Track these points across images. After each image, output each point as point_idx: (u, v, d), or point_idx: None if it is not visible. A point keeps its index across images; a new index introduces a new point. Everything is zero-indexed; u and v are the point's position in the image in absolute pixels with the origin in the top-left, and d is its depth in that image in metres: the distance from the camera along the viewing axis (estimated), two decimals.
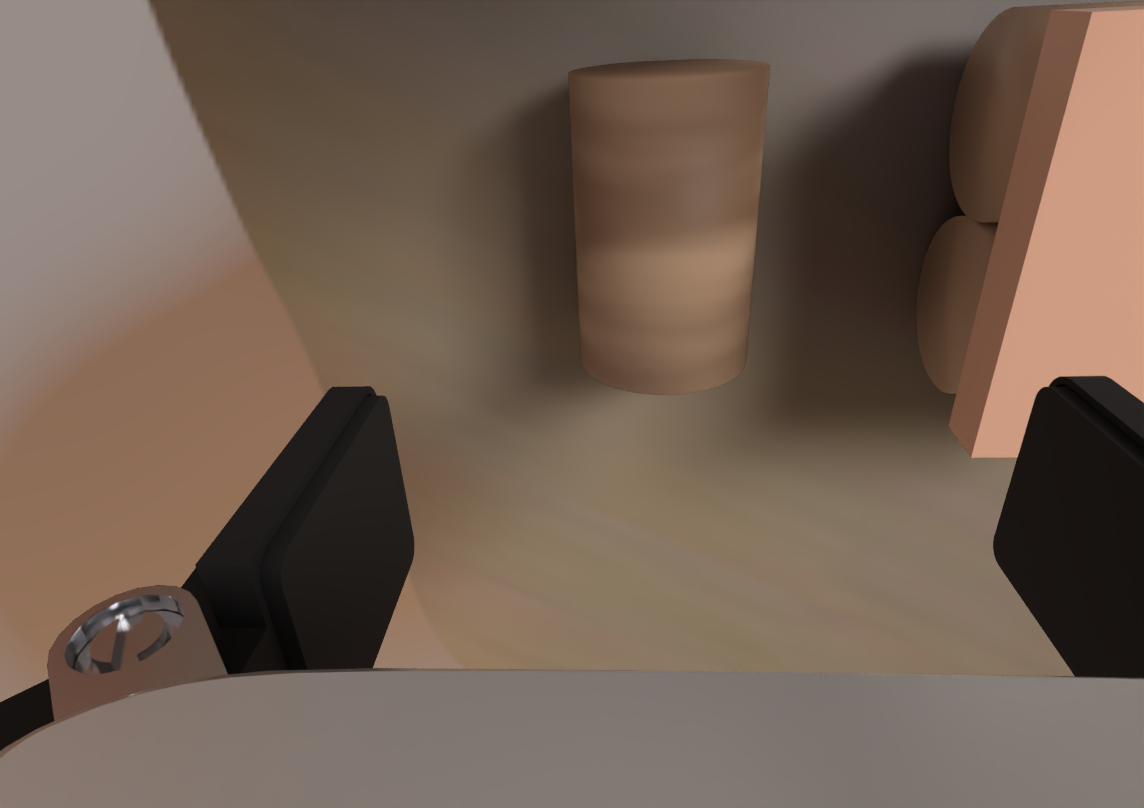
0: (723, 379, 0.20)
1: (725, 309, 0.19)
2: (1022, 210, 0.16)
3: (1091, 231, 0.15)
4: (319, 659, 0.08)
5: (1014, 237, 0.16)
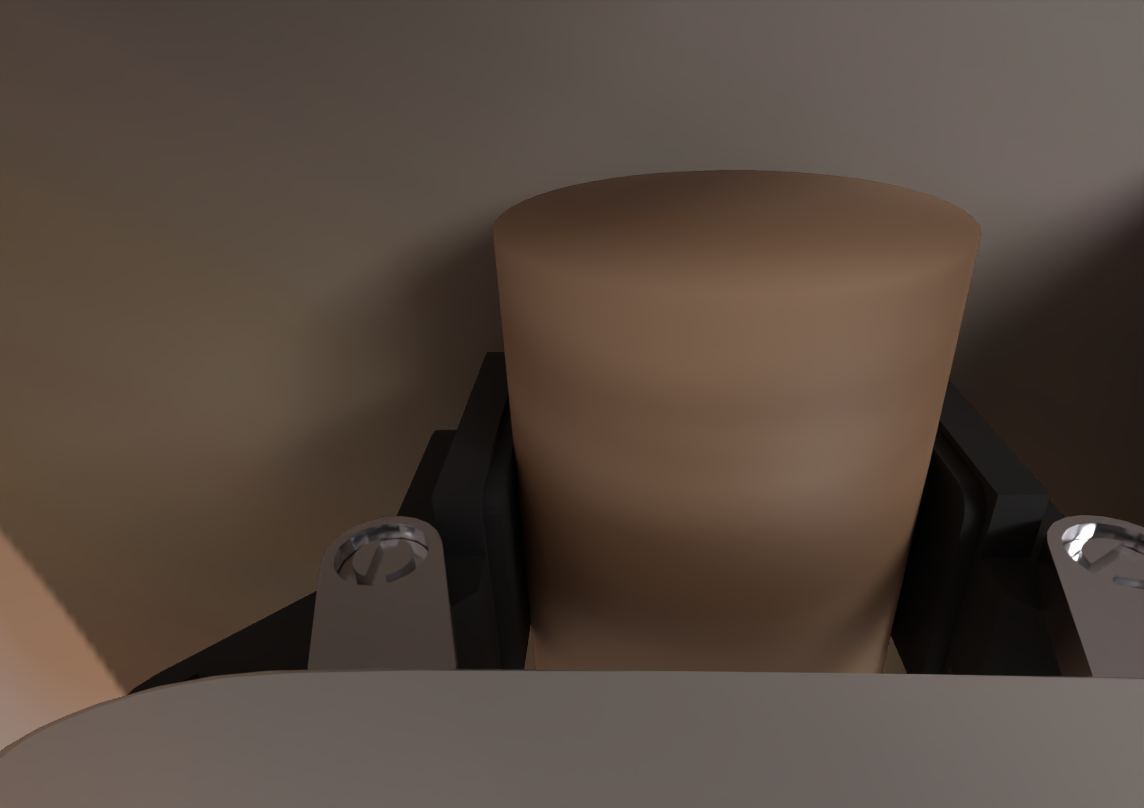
0: None
1: None
2: None
3: None
4: (515, 590, 0.09)
5: None
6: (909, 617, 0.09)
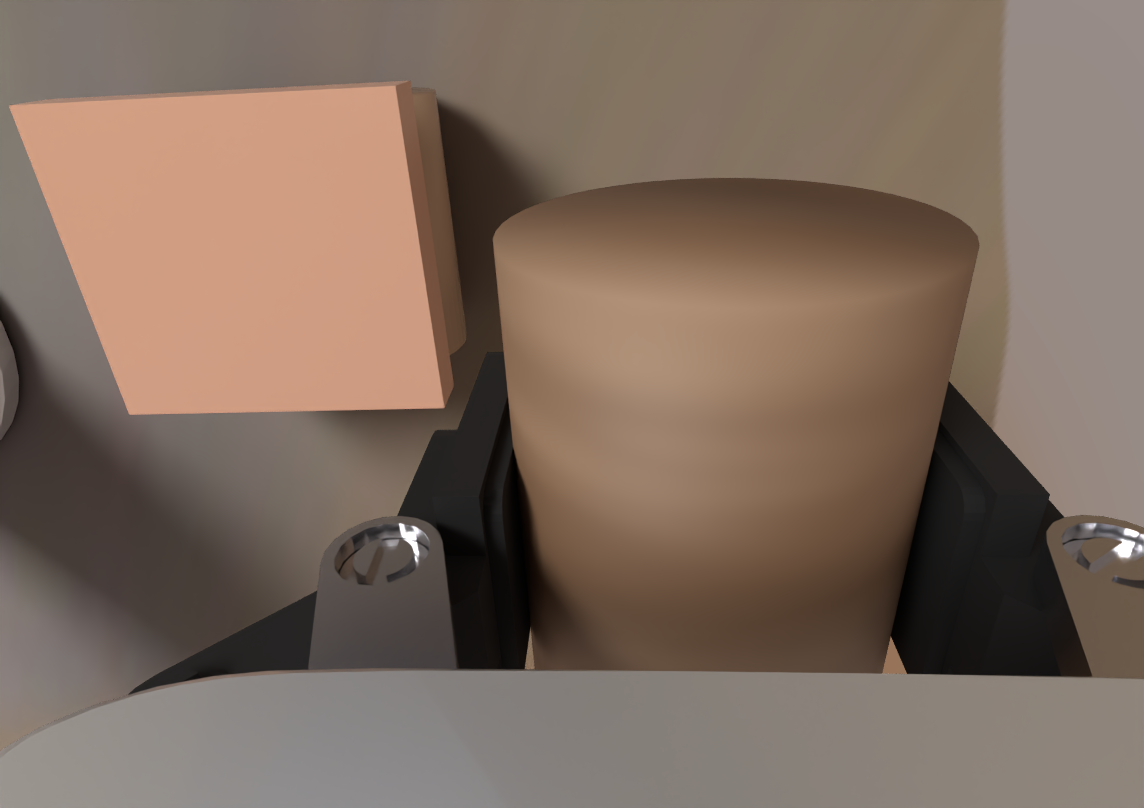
0: None
1: None
2: None
3: (248, 376, 0.22)
4: (515, 590, 0.09)
5: None
6: (908, 617, 0.09)
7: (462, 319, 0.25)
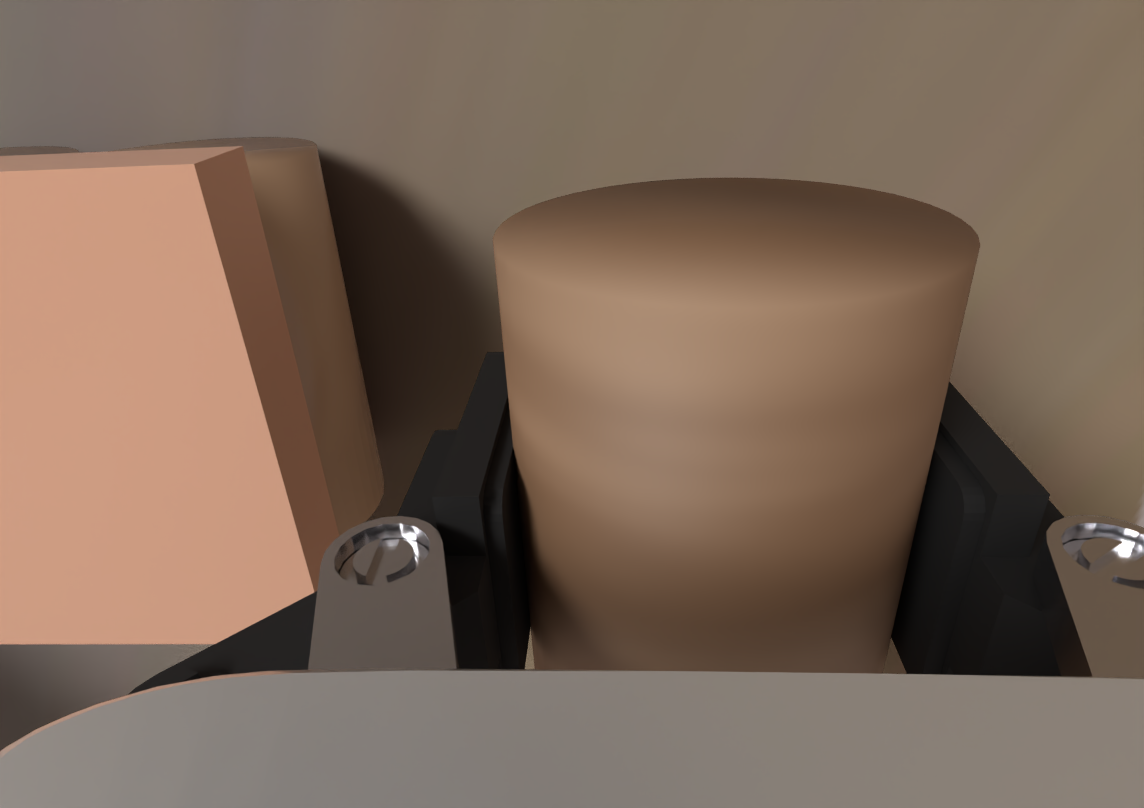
0: None
1: None
2: None
3: (18, 598, 0.14)
4: (515, 590, 0.09)
5: None
6: (908, 617, 0.09)
7: (374, 474, 0.17)
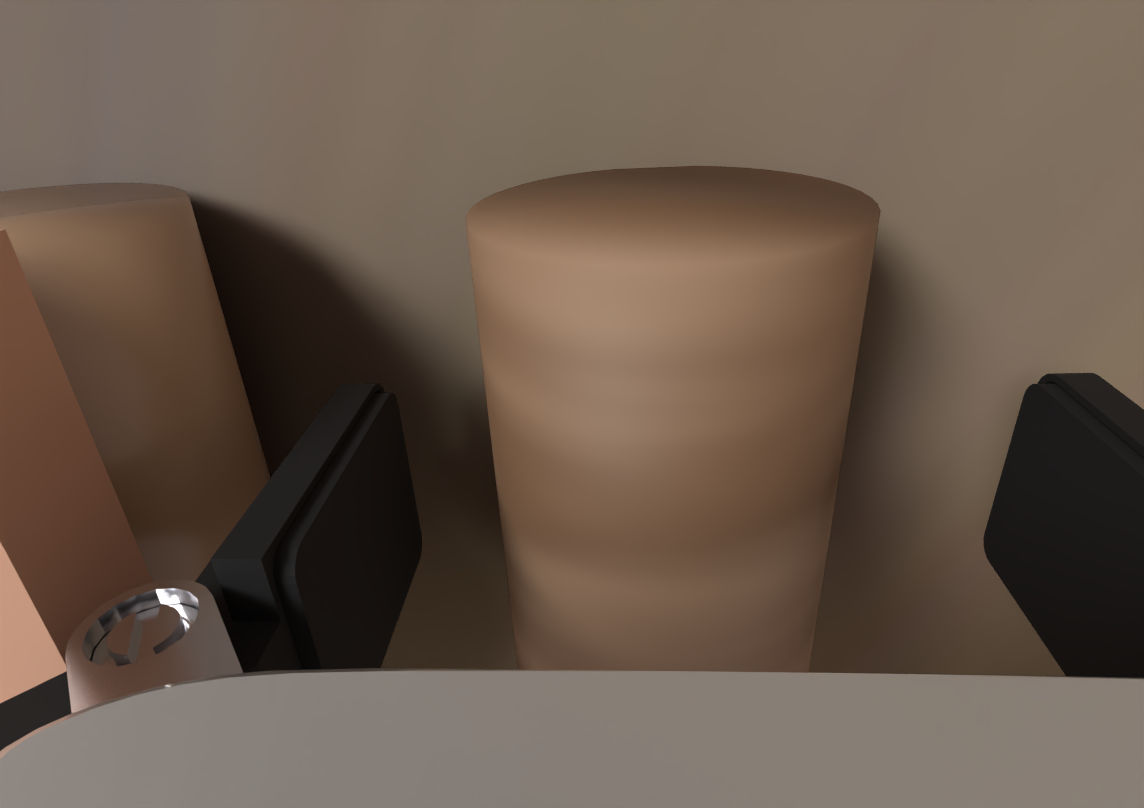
0: None
1: (786, 649, 0.10)
2: None
3: None
4: (331, 653, 0.08)
5: None
6: None
7: None
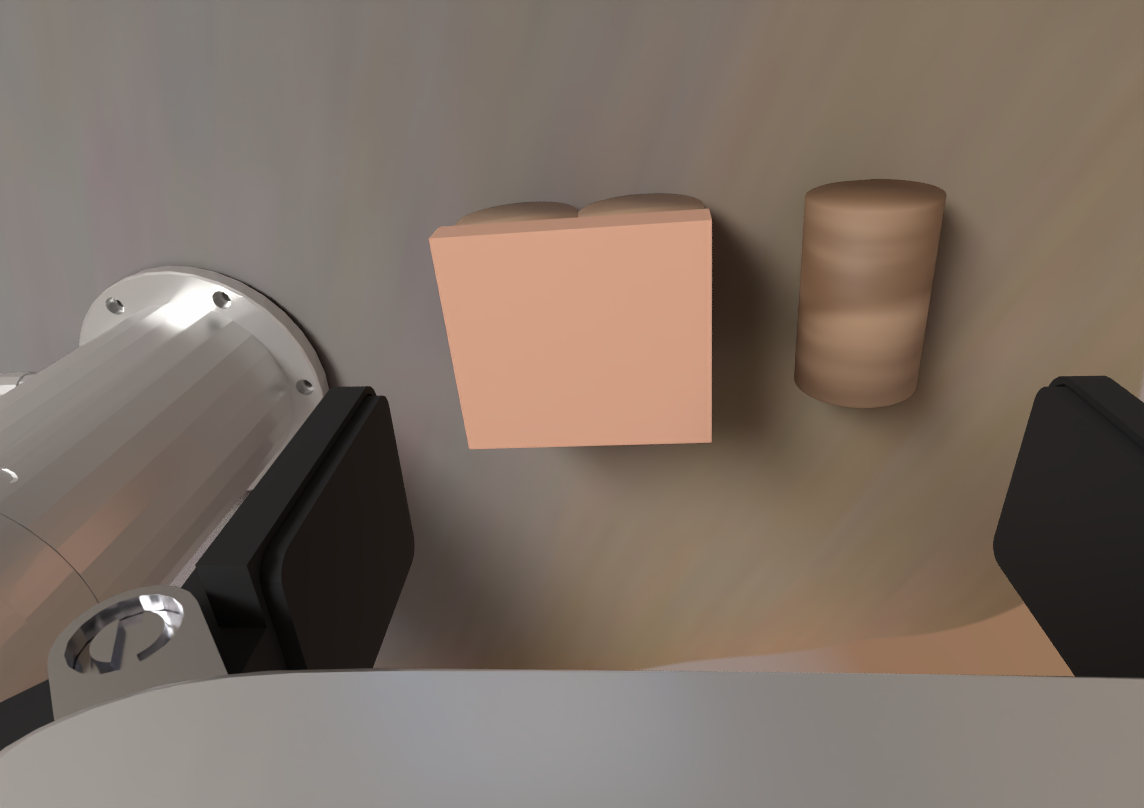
0: (907, 395, 0.30)
1: (913, 349, 0.29)
2: None
3: (565, 421, 0.29)
4: (319, 659, 0.08)
5: None
6: None
7: None
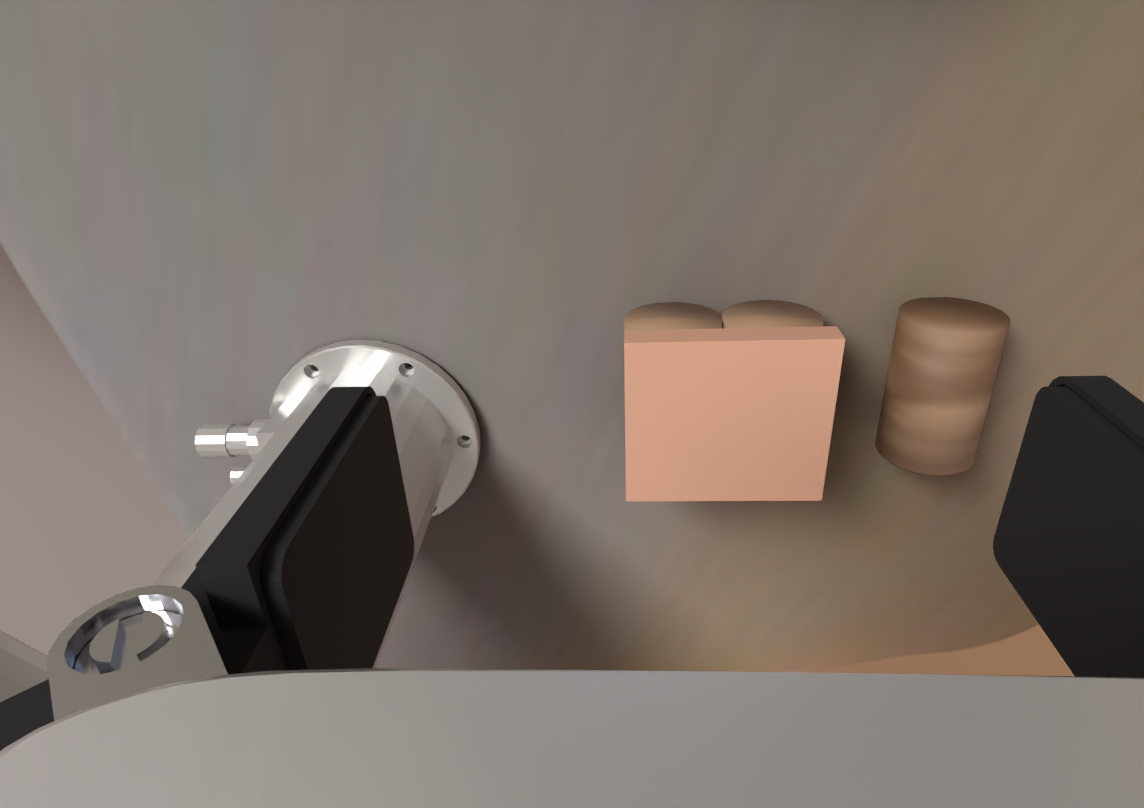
0: (970, 465, 0.38)
1: (978, 431, 0.37)
2: None
3: (708, 481, 0.37)
4: (319, 659, 0.08)
5: None
6: None
7: None
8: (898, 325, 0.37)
